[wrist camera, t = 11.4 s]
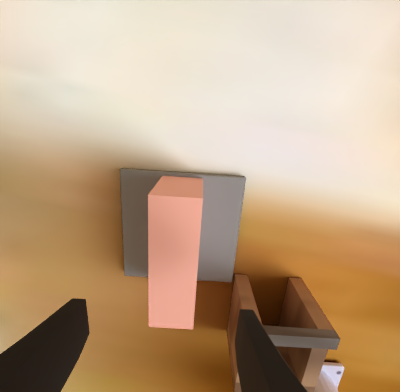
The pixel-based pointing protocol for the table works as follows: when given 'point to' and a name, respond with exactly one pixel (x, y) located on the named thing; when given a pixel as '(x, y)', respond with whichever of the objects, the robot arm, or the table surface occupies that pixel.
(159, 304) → the pink eraser brick
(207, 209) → the pad
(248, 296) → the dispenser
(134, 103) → the table surface
